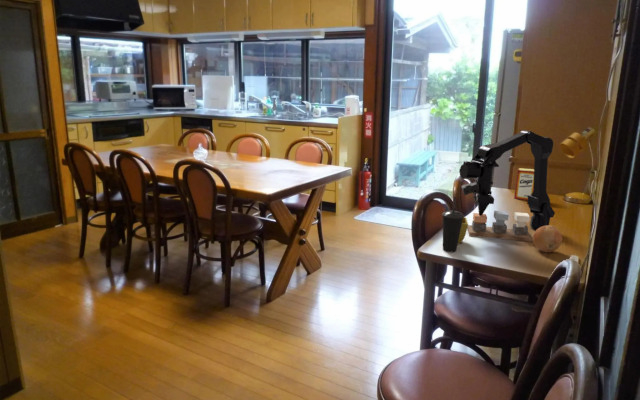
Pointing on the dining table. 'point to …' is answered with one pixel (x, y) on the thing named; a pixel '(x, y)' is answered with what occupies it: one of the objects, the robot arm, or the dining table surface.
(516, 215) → the cream button
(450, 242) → the drinking cup
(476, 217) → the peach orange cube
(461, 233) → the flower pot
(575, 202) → the dining table surface
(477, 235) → the walnut button board
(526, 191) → the baking soda box
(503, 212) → the slate button
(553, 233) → the onion
